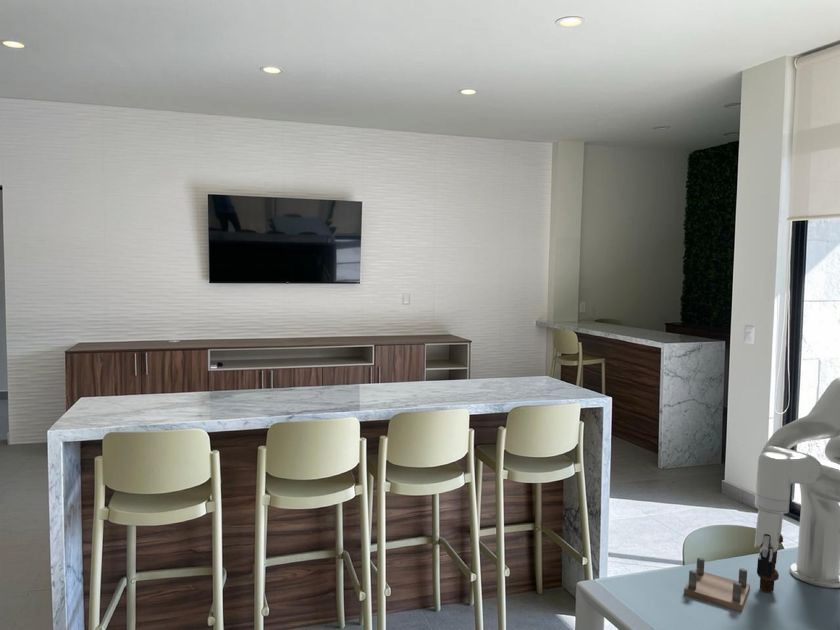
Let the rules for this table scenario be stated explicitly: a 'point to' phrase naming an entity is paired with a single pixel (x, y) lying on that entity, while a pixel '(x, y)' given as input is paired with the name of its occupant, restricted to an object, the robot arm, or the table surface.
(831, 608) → the table surface
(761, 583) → the bolt
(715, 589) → the peg holder
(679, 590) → the table surface
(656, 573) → the table surface
